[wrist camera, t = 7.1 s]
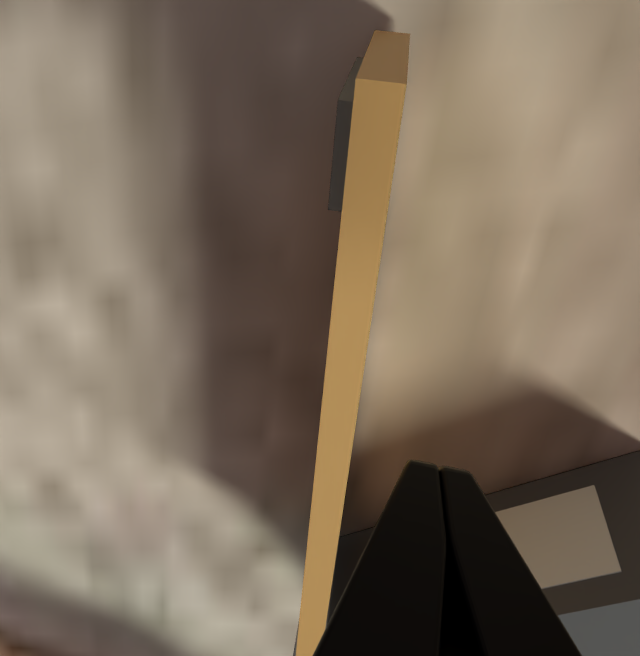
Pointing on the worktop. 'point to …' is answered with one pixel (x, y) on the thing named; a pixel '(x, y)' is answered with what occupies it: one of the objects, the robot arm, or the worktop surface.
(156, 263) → the worktop surface
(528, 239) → the worktop surface
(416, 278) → the worktop surface
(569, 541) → the action camera body
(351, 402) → the side door
